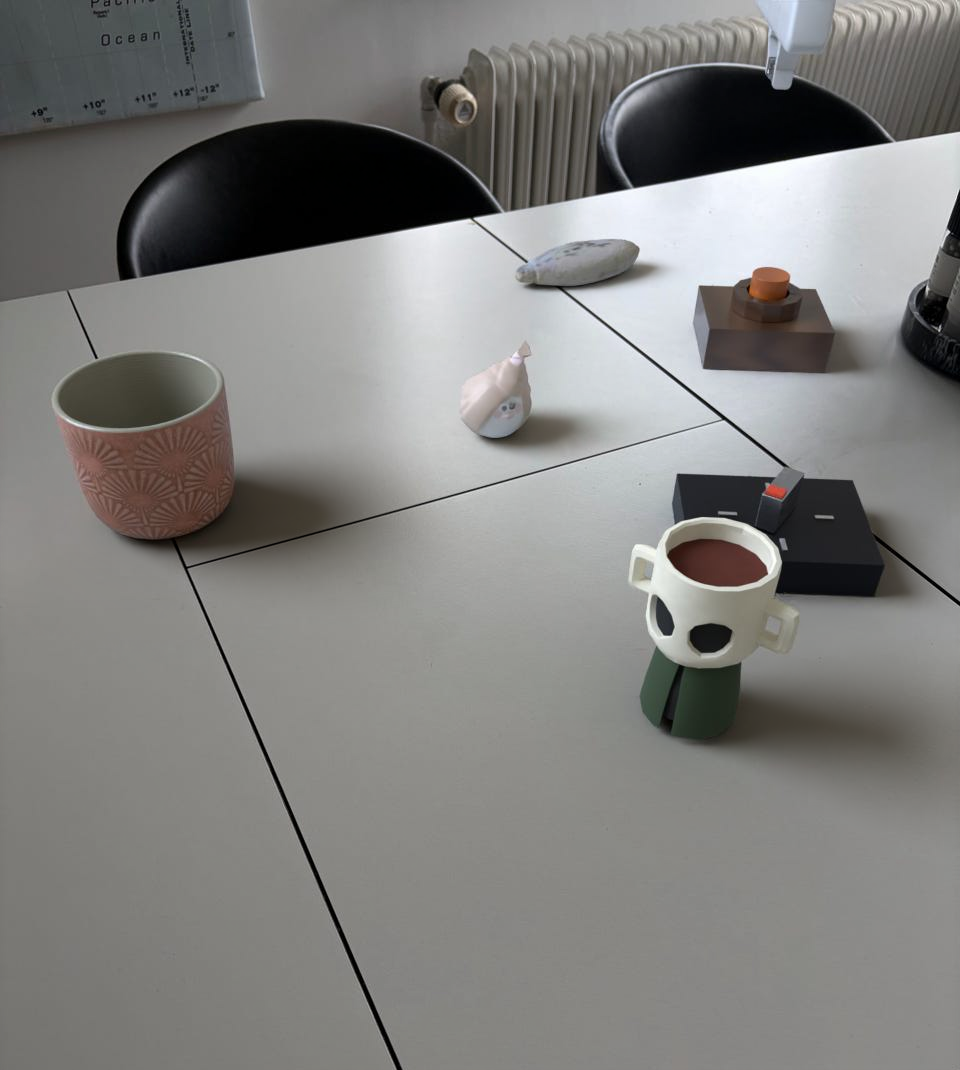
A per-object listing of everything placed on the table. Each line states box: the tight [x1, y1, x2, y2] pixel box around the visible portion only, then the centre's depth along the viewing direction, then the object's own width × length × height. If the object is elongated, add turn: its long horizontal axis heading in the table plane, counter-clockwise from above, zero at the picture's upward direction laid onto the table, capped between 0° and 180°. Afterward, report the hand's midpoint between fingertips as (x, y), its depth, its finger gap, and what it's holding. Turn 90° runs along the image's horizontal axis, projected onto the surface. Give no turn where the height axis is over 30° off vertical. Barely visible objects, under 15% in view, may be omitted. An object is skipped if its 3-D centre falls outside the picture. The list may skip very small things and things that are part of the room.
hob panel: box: [671, 472, 886, 598], centre depth 80 cm, size 14×11×3 cm
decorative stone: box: [514, 238, 641, 287], centre depth 117 cm, size 6×16×3 cm, turn 116°
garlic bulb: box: [458, 339, 533, 439], centre depth 91 cm, size 7×6×8 cm
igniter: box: [692, 277, 836, 374], centre depth 104 cm, size 12×10×6 cm
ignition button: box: [749, 266, 791, 300], centre depth 102 cm, size 4×4×2 cm
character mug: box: [627, 517, 801, 740], centre depth 64 cm, size 11×7×13 cm, turn 53°
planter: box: [51, 348, 235, 540], centre depth 80 cm, size 12×12×11 cm
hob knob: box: [755, 466, 805, 533], centre depth 78 cm, size 4×2×3 cm, turn 146°
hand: (777, 82), depth 102 cm, fingers closed
